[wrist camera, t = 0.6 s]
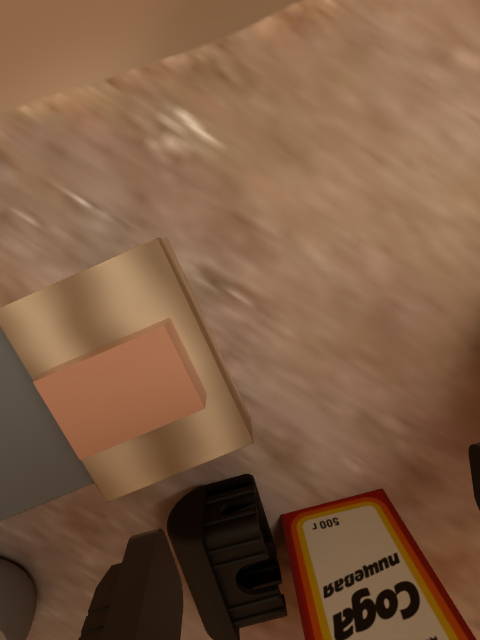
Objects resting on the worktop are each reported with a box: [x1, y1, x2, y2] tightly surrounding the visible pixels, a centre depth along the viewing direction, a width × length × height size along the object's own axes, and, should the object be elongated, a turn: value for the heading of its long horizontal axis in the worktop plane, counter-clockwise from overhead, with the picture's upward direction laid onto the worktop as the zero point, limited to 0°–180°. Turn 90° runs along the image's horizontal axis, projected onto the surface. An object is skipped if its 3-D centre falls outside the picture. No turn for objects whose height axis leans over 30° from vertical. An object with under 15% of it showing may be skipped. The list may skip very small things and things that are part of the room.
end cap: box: [167, 474, 287, 640], centre depth 30 cm, size 10×7×7 cm
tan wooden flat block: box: [0, 238, 254, 502], centre depth 28 cm, size 12×16×4 cm
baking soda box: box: [281, 489, 476, 640], centre depth 26 cm, size 10×6×16 cm
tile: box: [33, 317, 207, 460], centre depth 24 cm, size 9×6×2 cm, turn 113°
